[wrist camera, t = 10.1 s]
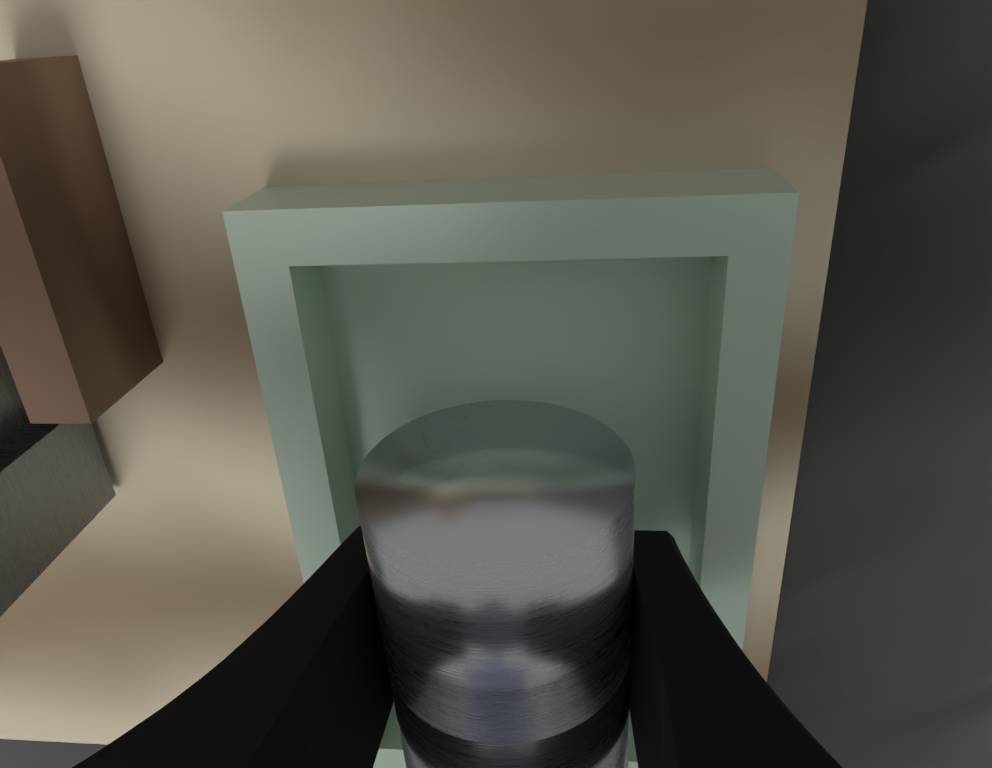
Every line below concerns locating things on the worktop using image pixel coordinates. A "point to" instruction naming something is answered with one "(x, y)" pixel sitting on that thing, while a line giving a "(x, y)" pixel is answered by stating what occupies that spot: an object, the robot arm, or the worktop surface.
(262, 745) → the robot arm
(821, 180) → the board
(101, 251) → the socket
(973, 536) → the worktop surface
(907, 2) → the worktop surface
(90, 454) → the grey stepped block
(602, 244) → the tray
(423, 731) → the grey cylinder
